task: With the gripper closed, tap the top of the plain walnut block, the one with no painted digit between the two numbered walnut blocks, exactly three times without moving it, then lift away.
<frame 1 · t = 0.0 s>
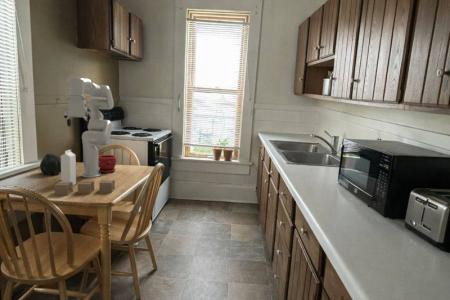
hand: (77, 126, 185), 37 cm above the table, tool pointing down, fingers open, 9 cm apart
digit block 1: (64, 193, 174), on the table
plain block: (86, 192, 178), on the table
milk: (68, 185, 190), on the table
plant pot: (106, 171, 228), on the table
squash: (52, 174, 213), on the table
digit block 7: (107, 190, 183), on the table
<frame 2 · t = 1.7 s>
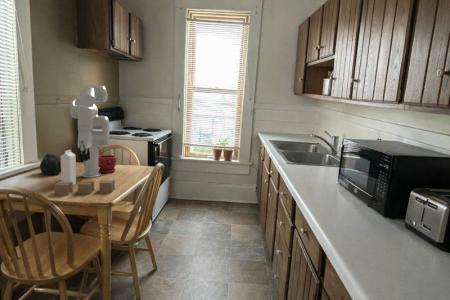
hand: (85, 159, 175), 19 cm above the table, tool pointing down, fingers open, 3 cm apart
nothing on the table moved.
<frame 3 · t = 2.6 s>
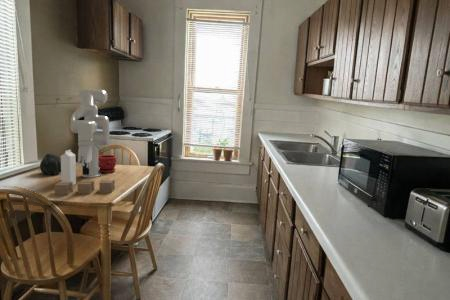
hand: (85, 174, 176), 11 cm above the table, tool pointing down, fingers closed
nothing on the table moved.
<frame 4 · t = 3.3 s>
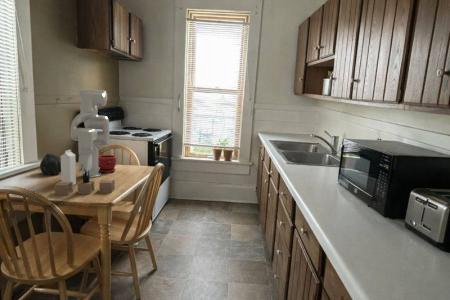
hand: (86, 182, 177), 6 cm above the table, tool pointing down, fingers closed
plain block: (86, 191, 178), on the table, touching gripper
everything else where it was.
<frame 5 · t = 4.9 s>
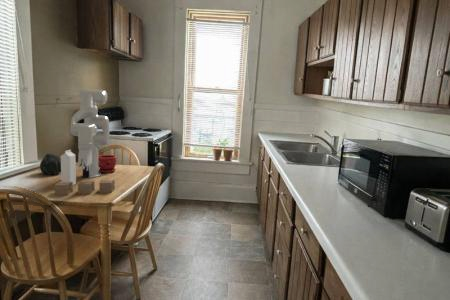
hand: (86, 177, 177), 9 cm above the table, tool pointing down, fingers closed
plain block: (86, 192, 178), on the table
everything else where it was.
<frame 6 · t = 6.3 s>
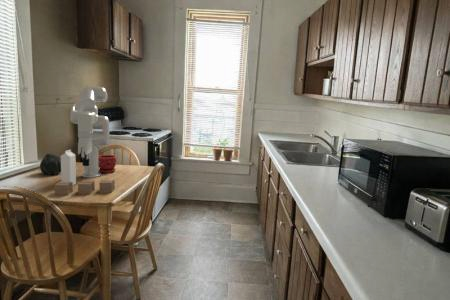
hand: (86, 165, 176), 16 cm above the table, tool pointing down, fingers closed
nothing on the table moved.
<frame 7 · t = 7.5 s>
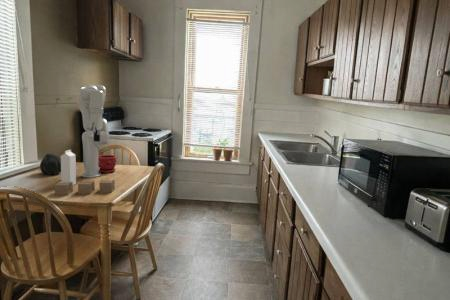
hand: (96, 141, 185), 29 cm above the table, tool pointing down, fingers closed
nothing on the table moved.
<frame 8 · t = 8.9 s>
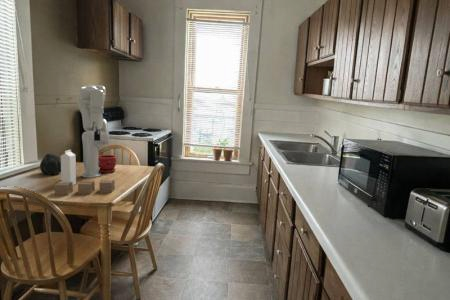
hand: (97, 140, 185), 29 cm above the table, tool pointing down, fingers closed
nothing on the table moved.
at the end: plain block moved 0.4 cm from its start; plain block tilted 0°; digit block 1 moved 0.2 cm from its start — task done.
